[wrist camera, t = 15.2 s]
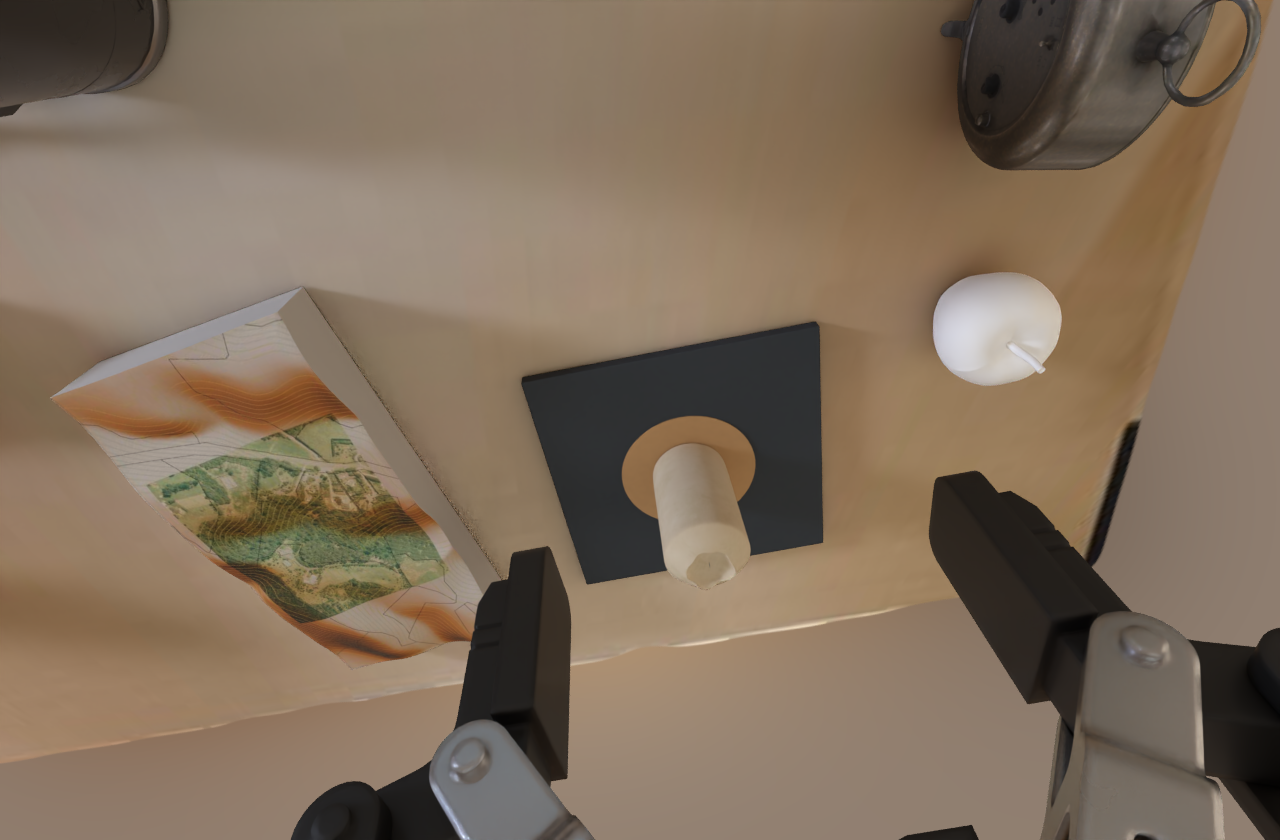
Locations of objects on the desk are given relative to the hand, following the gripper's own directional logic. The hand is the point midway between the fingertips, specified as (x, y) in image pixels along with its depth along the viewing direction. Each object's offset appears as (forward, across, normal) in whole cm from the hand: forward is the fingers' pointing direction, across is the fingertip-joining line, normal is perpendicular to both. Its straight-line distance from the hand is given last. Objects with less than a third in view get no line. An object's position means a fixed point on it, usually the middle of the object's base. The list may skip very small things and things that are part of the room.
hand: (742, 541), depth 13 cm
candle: (+27, 0, +20) cm, 34 cm away
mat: (+28, 0, +20) cm, 34 cm away
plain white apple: (+28, -20, +11) cm, 36 cm away
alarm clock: (+28, -19, -5) cm, 34 cm away
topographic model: (+28, +26, +17) cm, 42 cm away
